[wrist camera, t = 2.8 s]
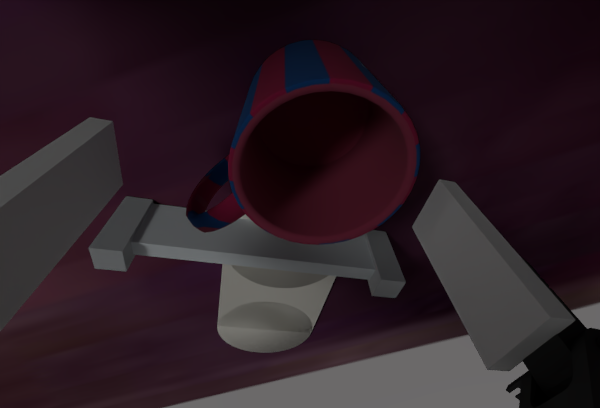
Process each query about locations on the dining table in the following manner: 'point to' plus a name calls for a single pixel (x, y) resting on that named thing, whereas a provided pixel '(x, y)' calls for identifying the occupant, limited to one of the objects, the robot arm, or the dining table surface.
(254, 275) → the pad
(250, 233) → the divider wall
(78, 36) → the dining table surface
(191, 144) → the dining table surface
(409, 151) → the cup
